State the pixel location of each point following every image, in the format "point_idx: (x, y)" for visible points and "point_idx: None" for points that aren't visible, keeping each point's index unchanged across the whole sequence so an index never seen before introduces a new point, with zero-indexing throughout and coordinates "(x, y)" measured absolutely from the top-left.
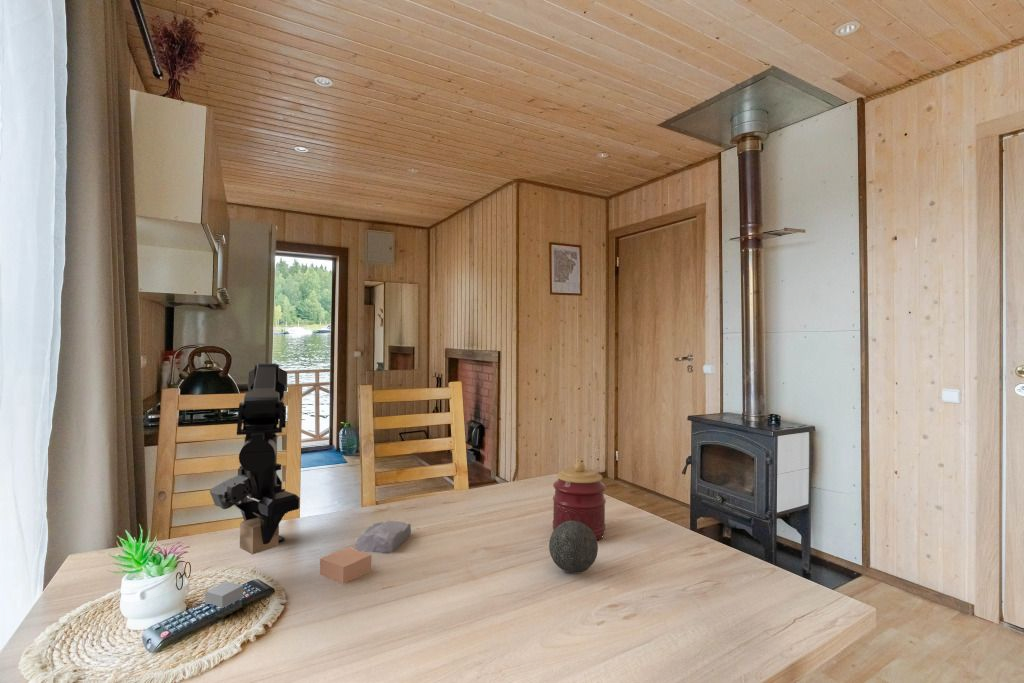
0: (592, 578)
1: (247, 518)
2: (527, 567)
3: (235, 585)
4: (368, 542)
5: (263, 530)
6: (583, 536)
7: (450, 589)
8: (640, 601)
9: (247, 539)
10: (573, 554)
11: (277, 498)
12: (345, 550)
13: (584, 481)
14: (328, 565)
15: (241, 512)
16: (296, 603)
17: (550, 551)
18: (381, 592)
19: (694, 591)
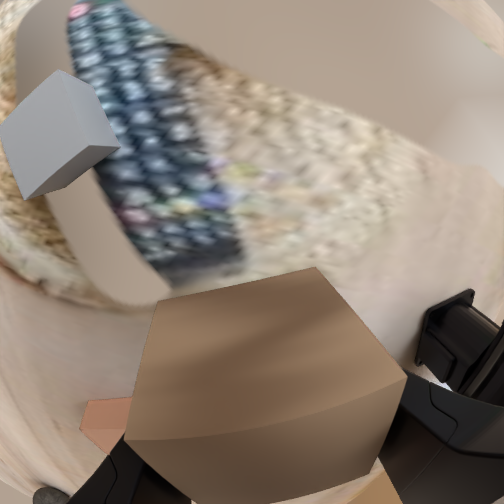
0: (42, 484)
1: (408, 421)
2: (73, 489)
3: (34, 174)
4: None
5: (116, 447)
6: None
7: (36, 446)
8: (7, 468)
9: (226, 334)
10: (33, 498)
11: None
12: None
13: None
14: (125, 421)
15: (486, 407)
16: (33, 306)
17: (54, 502)
18: (41, 412)
19: (18, 481)
